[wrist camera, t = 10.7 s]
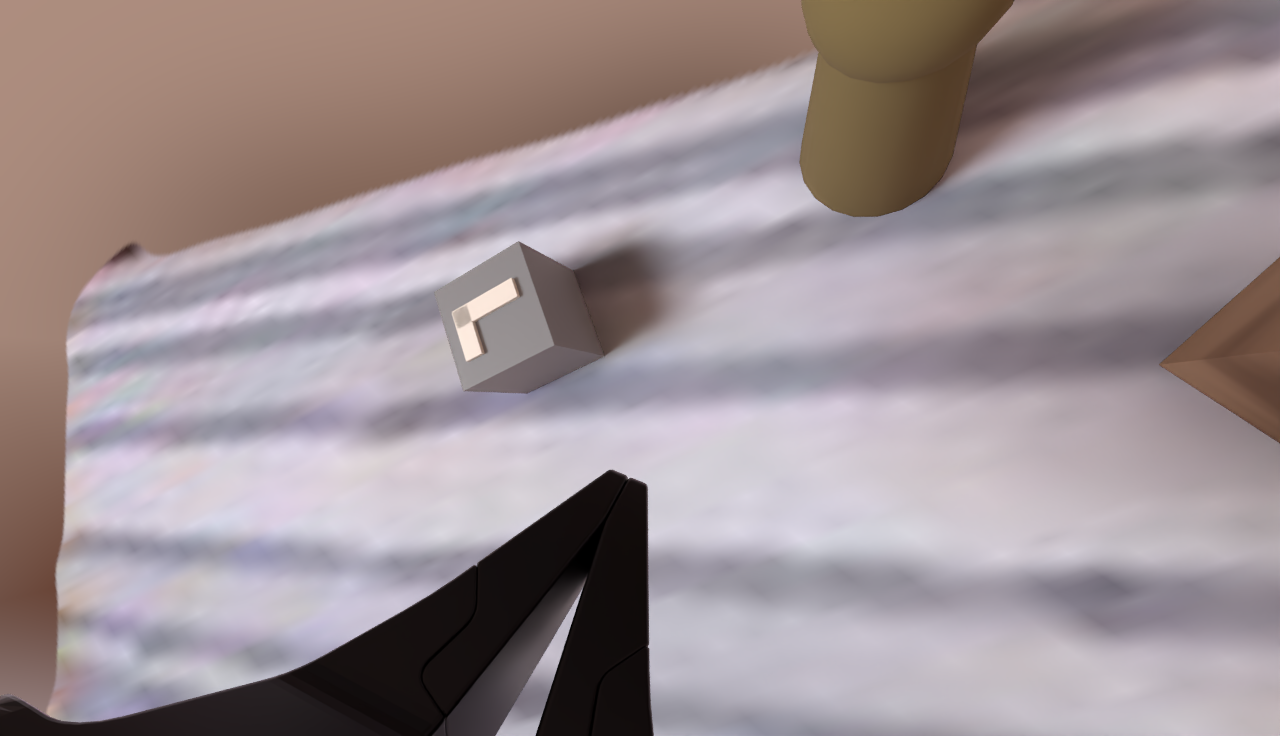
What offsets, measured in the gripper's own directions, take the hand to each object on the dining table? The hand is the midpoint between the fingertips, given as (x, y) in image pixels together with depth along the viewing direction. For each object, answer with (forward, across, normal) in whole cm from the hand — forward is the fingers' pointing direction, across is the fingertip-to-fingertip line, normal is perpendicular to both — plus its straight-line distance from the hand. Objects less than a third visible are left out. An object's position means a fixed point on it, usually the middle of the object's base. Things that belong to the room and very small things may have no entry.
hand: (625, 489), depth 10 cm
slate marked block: (+14, +8, +7) cm, 17 cm away
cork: (+18, -4, -5) cm, 19 cm away
